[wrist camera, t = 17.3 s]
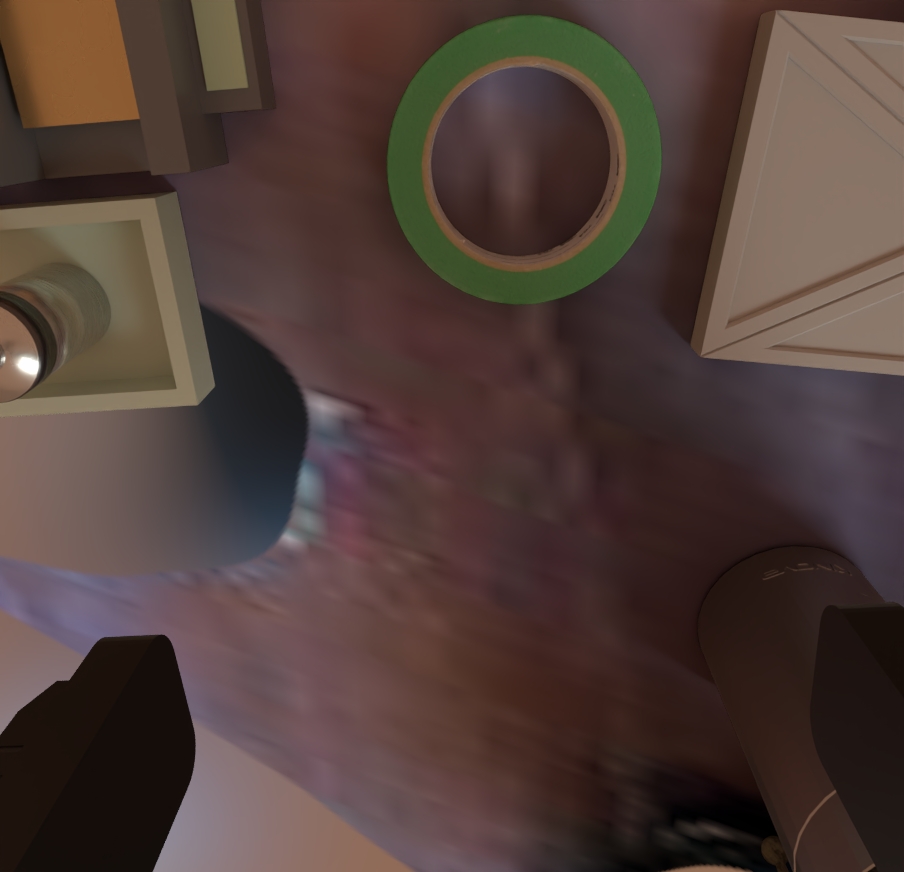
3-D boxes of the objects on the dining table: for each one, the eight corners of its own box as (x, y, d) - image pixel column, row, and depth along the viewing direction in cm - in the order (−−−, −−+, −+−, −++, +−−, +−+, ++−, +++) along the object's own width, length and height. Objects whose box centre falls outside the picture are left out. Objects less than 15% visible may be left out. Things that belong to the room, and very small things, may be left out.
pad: (159, 117, 32) (152, 117, 31) (33, 127, 32) (23, 128, 32) (124, -56, 30) (116, -60, 29) (-10, -43, 30) (-23, -47, 29)
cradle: (283, 158, 34) (254, 167, 30) (26, 178, 35) (-42, 190, 30) (242, -118, 31) (201, -156, 26) (-45, -90, 31) (-135, -123, 27)
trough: (215, 386, 39) (198, 404, 36) (-66, 404, 39) (-101, 423, 37) (176, 191, 35) (154, 198, 33) (-131, 215, 36) (-174, 223, 33)
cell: (96, 256, 36) (9, 297, 29) (123, 344, 37) (46, 403, 30) (8, 267, 36) (-100, 310, 29) (38, 354, 38) (-58, 415, 31)
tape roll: (527, -45, 32) (532, -58, 29) (702, 165, 34) (719, 170, 32) (339, 163, 35) (328, 167, 32) (513, 340, 38) (515, 356, 35)
